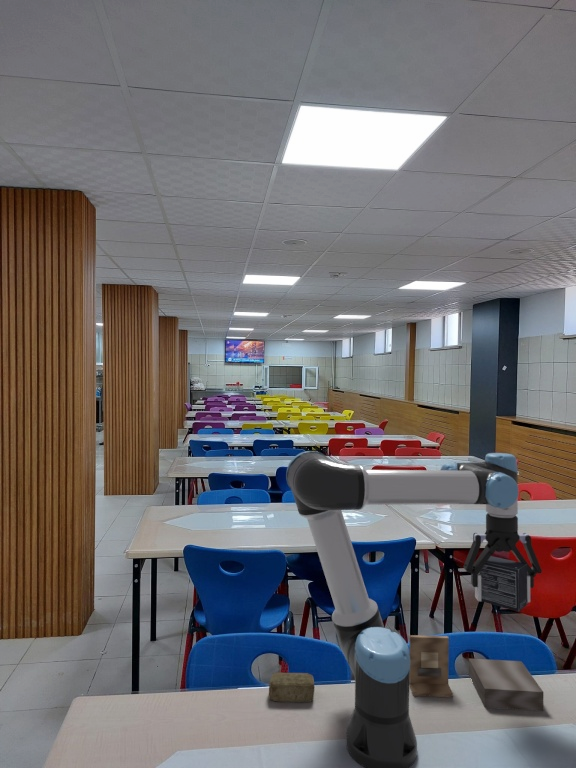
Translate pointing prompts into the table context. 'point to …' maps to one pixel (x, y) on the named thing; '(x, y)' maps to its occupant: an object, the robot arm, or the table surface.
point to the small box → (504, 583)
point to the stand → (429, 666)
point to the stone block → (291, 687)
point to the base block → (505, 685)
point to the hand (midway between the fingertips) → (502, 599)
